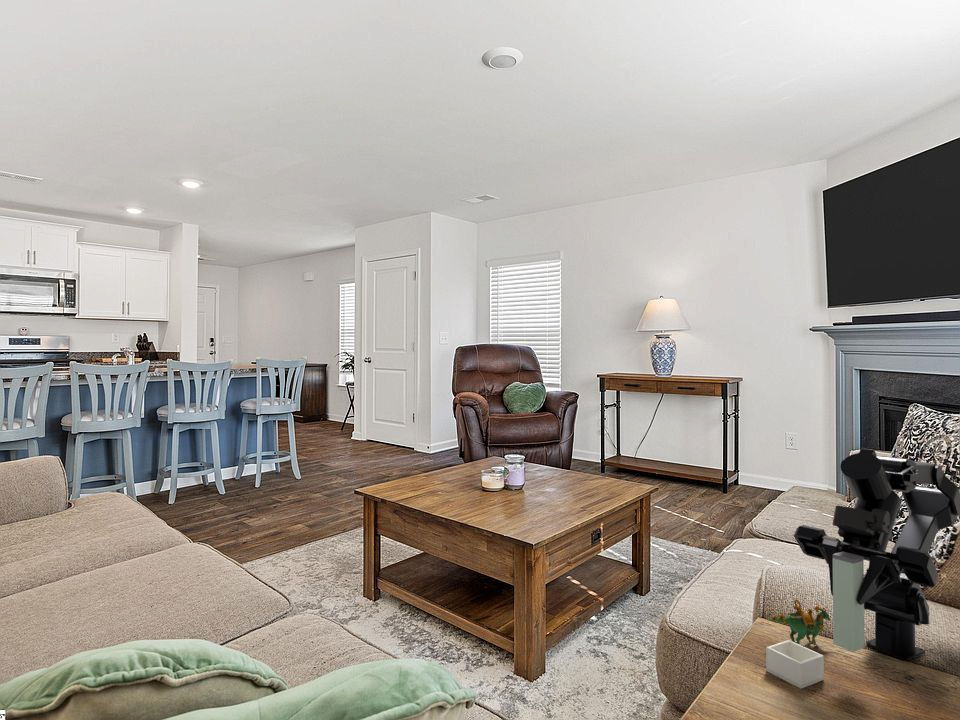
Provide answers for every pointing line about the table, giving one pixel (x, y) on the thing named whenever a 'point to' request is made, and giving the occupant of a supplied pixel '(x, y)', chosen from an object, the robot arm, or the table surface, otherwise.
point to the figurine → (803, 622)
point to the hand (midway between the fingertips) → (845, 599)
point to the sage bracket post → (848, 601)
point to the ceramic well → (795, 663)
